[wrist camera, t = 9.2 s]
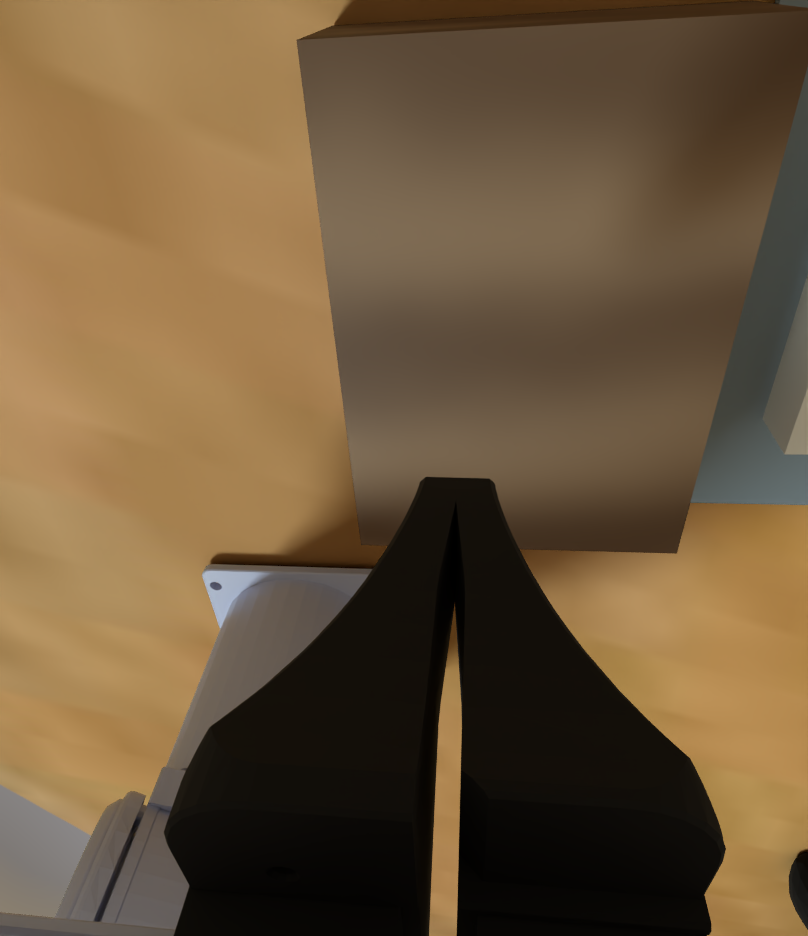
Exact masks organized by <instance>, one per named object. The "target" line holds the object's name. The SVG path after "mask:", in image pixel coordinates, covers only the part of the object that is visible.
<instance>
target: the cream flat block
mask: <svg viewBox="0 0 808 936" xmlns="http://www.w3.org/2000/svg"><path fill="white" fill-rule="evenodd" d="M762 419H763V421H764V422H765V424H766V425H767V427H768V429H769V430H770V432H771V433H772V435H773V437H774V438H775V440H776V442H777V443H778V445H779V446H780V448H781V450H782V451H783V453H784V454H791V455H808V275H807V278H806V281H805V284H804V287H803V291H802V294H801V297H800V300H799V303H798V307H797V310H796V313H795V316H794V319H793V323H792V326H791V329H790V332H789V335H788V339H787V342H786V345H785V348H784V351H783V355H782V358H781V361H780V364H779V367H778V371H777V374H776V377H775V380H774V383H773V387H772V390H771V393H770V396H769V399H768V403H767V406H766V409H765V412H764V415H763V418H762Z"/></svg>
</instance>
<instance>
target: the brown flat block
mask: <svg viewBox="0 0 808 936" xmlns="http://www.w3.org/2000/svg"><path fill="white" fill-rule="evenodd" d="M297 47H298V54H299V62H300V70H301V78H302V86H303V94H304V101H305V109H306V117H307V125H308V133H309V140H310V148H311V156H312V164H313V172H314V180H315V187H316V195H317V203H318V211H319V219H320V227H321V234H322V242H323V250H324V258H325V266H326V274H327V281H328V289H329V297H330V305H331V313H332V321H333V328H334V336H335V344H336V352H337V360H338V368H339V375H340V383H341V391H342V399H343V407H344V415H345V422H346V430H347V438H348V446H349V454H350V462H351V469H352V477H353V485H354V493H355V501H356V509H357V516H358V524H359V532H360V540H361V545H386V546H388V545H389V544H390V542H391V540H392V539H393V537H394V535H395V534H396V532H397V530H398V528H399V527H400V525H401V523H402V521H403V519H404V518H405V516H406V514H407V512H408V510H409V508H410V506H411V504H412V501H413V499H414V497H415V495H416V492H417V490H418V487H419V483H420V481H421V480H423V479H424V478H425V477H451V478H489V479H491V480H492V481H493V482H494V483H495V486H496V491H497V495H498V499H499V502H500V505H501V508H502V511H503V513H504V516H505V518H506V521H507V523H508V526H509V528H510V530H511V533H512V535H513V537H514V539H515V541H516V543H517V545H518V547H519V549H533V550H570V551H607V552H643V553H677V550H678V547H679V543H680V539H681V535H682V532H683V528H684V524H685V521H686V517H687V513H688V509H689V506H690V502H691V498H692V495H693V491H694V487H695V483H696V480H697V476H698V472H699V469H700V465H701V461H702V457H703V454H704V450H705V446H706V443H707V439H708V435H709V431H710V428H711V424H712V420H713V417H714V413H715V409H716V405H717V402H718V398H719V394H720V391H721V387H722V383H723V379H724V376H725V372H726V368H727V365H728V361H729V357H730V353H731V350H732V346H733V342H734V339H735V335H736V331H737V327H738V324H739V320H740V316H741V313H742V309H743V305H744V301H745V298H746V294H747V290H748V287H749V283H750V279H751V275H752V272H753V268H754V264H755V261H756V257H757V253H758V249H759V246H760V242H761V238H762V235H763V231H764V227H765V223H766V220H767V216H768V212H769V209H770V205H771V201H772V197H773V194H774V190H775V186H776V183H777V179H778V175H779V171H780V168H781V164H782V160H783V157H784V153H785V149H786V145H787V142H788V138H789V134H790V131H791V127H792V123H793V119H794V116H795V112H796V108H797V105H798V101H799V97H800V93H801V90H802V86H803V82H804V78H805V75H806V71H807V67H808V8H805V7H797V6H789V5H782V4H774V3H766V2H758V1H742V2H725V3H708V4H691V5H674V6H657V7H640V8H624V9H607V10H590V11H573V12H556V13H539V14H523V15H506V16H489V17H472V18H455V19H438V20H421V21H405V22H388V23H371V24H354V25H337V26H331V27H328V28H326V29H323V30H321V31H318V32H316V33H313V34H311V35H308V36H306V37H303V38H301V39H298V40H297Z"/></svg>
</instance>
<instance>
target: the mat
mask: <svg viewBox="0 0 808 936" xmlns="http://www.w3.org/2000/svg"><path fill="white" fill-rule="evenodd" d="M775 4H782V5H789V6H797V7H805V8H808V0H775ZM807 275H808V67H807V71H806V75H805V78H804V82H803V86H802V90H801V93H800V97H799V101H798V105H797V108H796V112H795V116H794V119H793V123H792V127H791V131H790V134H789V138H788V142H787V145H786V149H785V153H784V157H783V160H782V164H781V168H780V171H779V175H778V179H777V183H776V186H775V190H774V194H773V197H772V201H771V205H770V209H769V212H768V216H767V220H766V223H765V227H764V231H763V235H762V238H761V242H760V246H759V249H758V253H757V257H756V261H755V264H754V268H753V272H752V275H751V279H750V283H749V287H748V290H747V294H746V298H745V301H744V305H743V309H742V313H741V316H740V320H739V324H738V327H737V331H736V335H735V339H734V342H733V346H732V350H731V353H730V357H729V361H728V365H727V368H726V372H725V376H724V379H723V383H722V387H721V391H720V394H719V398H718V402H717V405H716V409H715V413H714V417H713V420H712V424H711V428H710V431H709V435H708V439H707V443H706V446H705V450H704V454H703V457H702V461H701V465H700V469H699V472H698V476H697V480H696V483H695V487H694V491H693V495H692V498H691V502H690V503H734V504H786V505H808V455H791V454H784V453H783V451H782V450H781V448H780V446H779V445H778V443H777V442H776V440H775V438H774V437H773V435H772V433H771V432H770V430H769V429H768V427H767V425H766V424H765V422H764V421H763V419H762V418H763V415H764V412H765V409H766V406H767V403H768V399H769V396H770V393H771V390H772V387H773V383H774V380H775V377H776V374H777V371H778V367H779V364H780V361H781V358H782V355H783V351H784V348H785V345H786V342H787V339H788V335H789V332H790V329H791V326H792V323H793V319H794V316H795V313H796V310H797V307H798V303H799V300H800V297H801V294H802V291H803V287H804V284H805V281H806V278H807Z"/></svg>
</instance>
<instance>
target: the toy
mask: <svg viewBox="0 0 808 936" xmlns="http://www.w3.org/2000/svg"><path fill="white" fill-rule="evenodd" d="M789 893H790V897H791V900H792V902H793V905H794V907H795V910H796V912H797V913H798V915H799V917H800V918H801V920H802V922H803V923H804V925H805V926H806V928H807V929H808V852H806V853H803V854H801V855H800V856H799V857H797V858H796V859H795V861H794V863H793V864H792V867H791V871H790V874H789Z"/></svg>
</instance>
